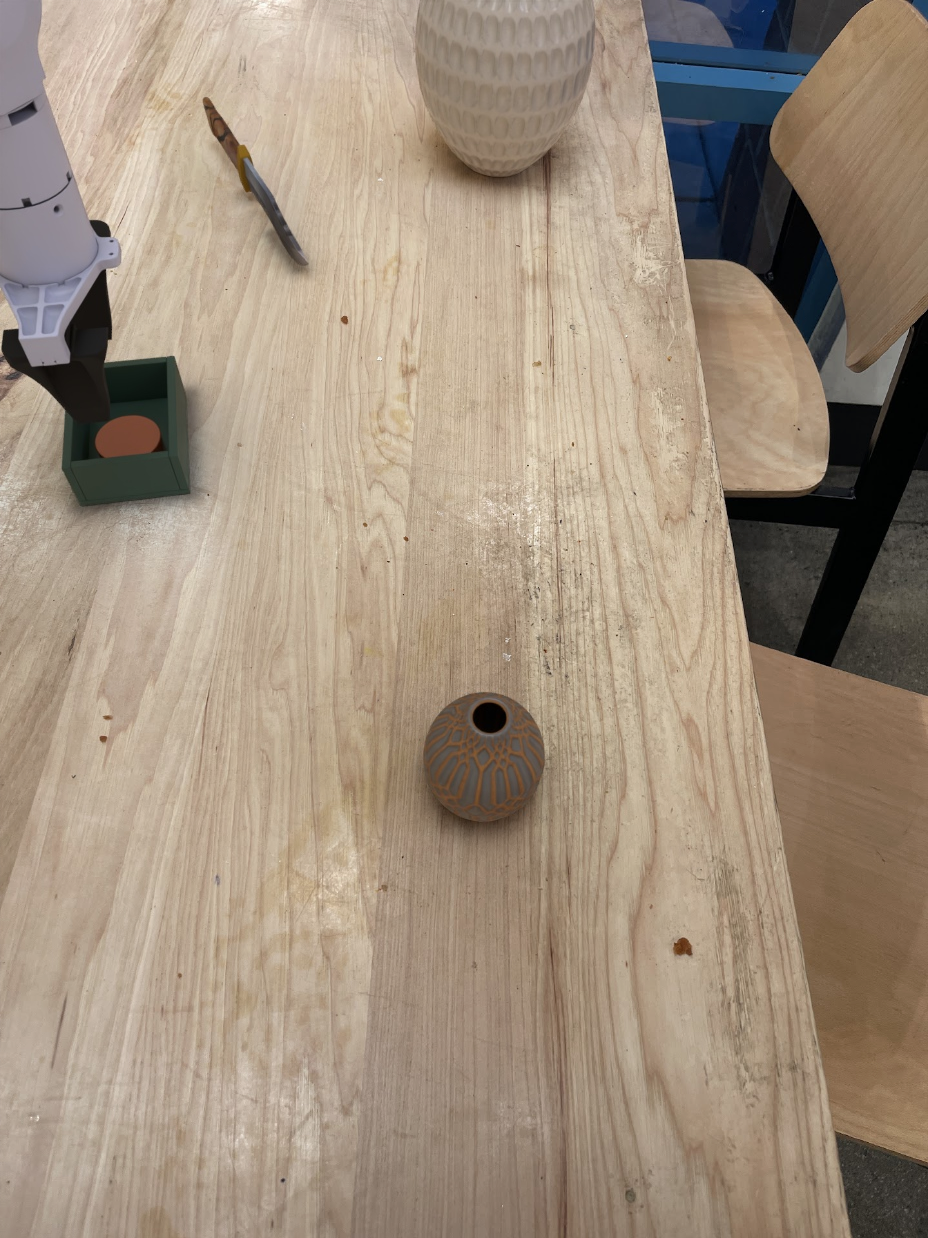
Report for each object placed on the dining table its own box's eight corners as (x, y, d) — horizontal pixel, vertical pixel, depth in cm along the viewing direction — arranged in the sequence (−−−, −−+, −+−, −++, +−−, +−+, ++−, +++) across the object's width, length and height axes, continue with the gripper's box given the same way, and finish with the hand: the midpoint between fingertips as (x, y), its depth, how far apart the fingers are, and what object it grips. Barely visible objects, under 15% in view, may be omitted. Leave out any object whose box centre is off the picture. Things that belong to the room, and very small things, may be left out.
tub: (80, 506, 63) (61, 468, 60) (84, 405, 68) (67, 365, 65) (190, 493, 64) (177, 455, 61) (186, 395, 70) (174, 355, 66)
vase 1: (415, 112, 93) (413, -158, 74) (567, 115, 94) (604, -151, 75) (416, 204, 84) (415, -76, 65) (585, 206, 85) (631, -69, 66)
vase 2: (407, 748, 54) (405, 680, 47) (511, 714, 56) (525, 643, 48) (446, 852, 51) (450, 797, 43) (555, 813, 52) (577, 753, 45)
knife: (319, 285, 77) (313, 234, 73) (304, 290, 77) (297, 238, 73) (220, 142, 88) (210, 90, 84) (207, 145, 88) (196, 93, 84)
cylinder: (103, 486, 64) (93, 465, 62) (104, 439, 66) (95, 418, 64) (168, 478, 64) (161, 457, 62) (167, 432, 67) (160, 411, 65)
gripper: (91, 256, 43) (159, 450, 55) (98, 101, 51) (156, 300, 62) (-63, 268, 42) (39, 463, 54) (-32, 108, 50) (52, 309, 61)
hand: (95, 376), depth 58 cm, fingers open, 7 cm apart
